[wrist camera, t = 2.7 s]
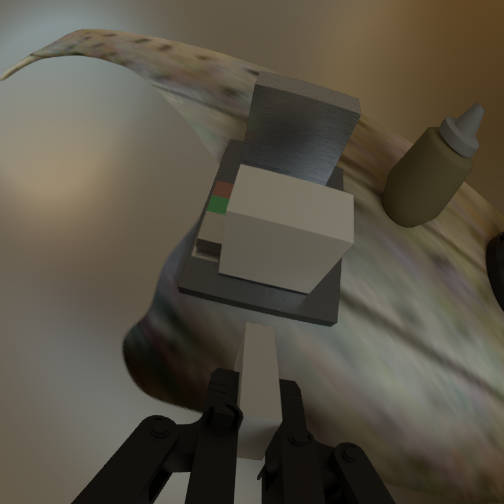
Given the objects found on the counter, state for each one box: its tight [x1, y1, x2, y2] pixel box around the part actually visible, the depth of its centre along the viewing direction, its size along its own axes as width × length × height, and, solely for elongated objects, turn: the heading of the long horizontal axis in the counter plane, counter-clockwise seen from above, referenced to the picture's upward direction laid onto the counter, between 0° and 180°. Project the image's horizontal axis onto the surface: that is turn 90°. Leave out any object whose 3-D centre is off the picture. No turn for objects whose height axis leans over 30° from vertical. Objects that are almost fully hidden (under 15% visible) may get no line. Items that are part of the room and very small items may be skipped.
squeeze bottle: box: [383, 103, 485, 227], centre depth 27 cm, size 8×8×18 cm
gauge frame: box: [178, 71, 361, 327], centre depth 26 cm, size 14×19×12 cm
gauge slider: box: [196, 164, 354, 294], centre depth 23 cm, size 10×7×9 cm, turn 79°
